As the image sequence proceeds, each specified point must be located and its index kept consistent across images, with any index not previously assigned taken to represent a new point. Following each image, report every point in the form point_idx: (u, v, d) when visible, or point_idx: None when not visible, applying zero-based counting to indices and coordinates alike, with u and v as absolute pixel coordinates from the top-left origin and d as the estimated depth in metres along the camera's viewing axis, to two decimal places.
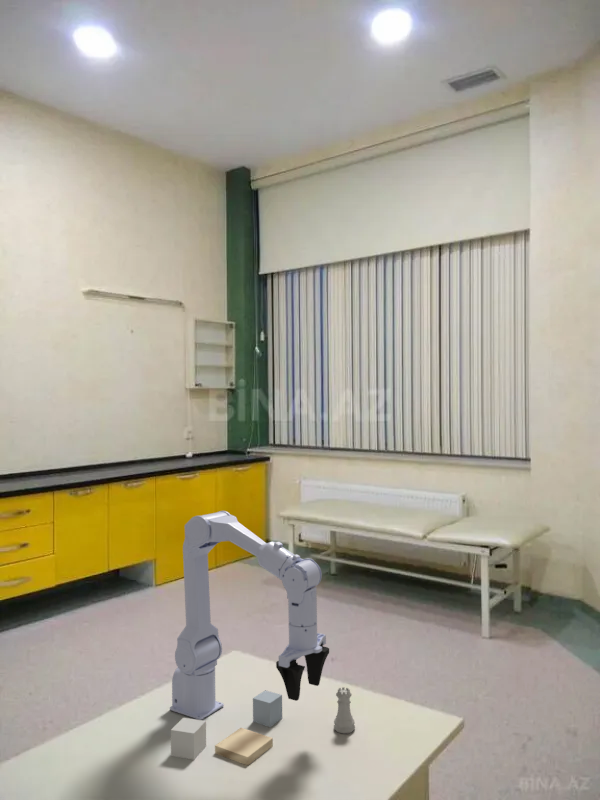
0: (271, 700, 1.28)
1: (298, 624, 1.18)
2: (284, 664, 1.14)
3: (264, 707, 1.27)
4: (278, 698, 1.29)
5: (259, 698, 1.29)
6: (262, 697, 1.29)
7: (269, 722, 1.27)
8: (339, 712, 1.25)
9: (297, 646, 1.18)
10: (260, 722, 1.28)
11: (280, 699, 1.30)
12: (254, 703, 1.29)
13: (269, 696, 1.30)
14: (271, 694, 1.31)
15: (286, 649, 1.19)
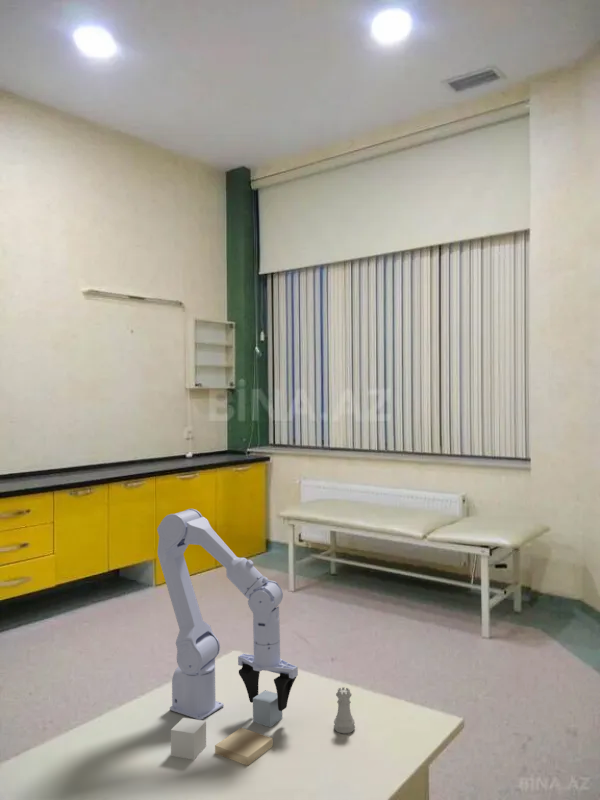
0: (271, 700, 1.28)
1: (265, 642, 1.28)
2: None
3: (264, 707, 1.27)
4: None
5: (259, 698, 1.29)
6: (262, 697, 1.29)
7: (269, 722, 1.27)
8: (339, 712, 1.25)
9: None
10: (260, 722, 1.28)
11: None
12: (254, 703, 1.29)
13: (269, 696, 1.30)
14: (271, 694, 1.31)
15: None
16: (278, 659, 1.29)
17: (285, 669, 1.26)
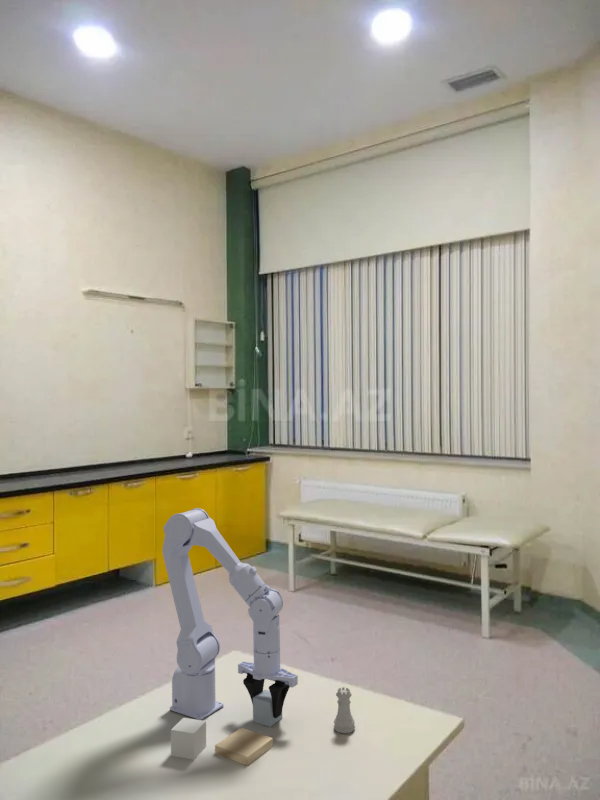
0: (271, 700, 1.28)
1: (265, 651, 1.28)
2: None
3: (264, 706, 1.27)
4: None
5: (259, 697, 1.29)
6: (262, 697, 1.29)
7: (269, 722, 1.27)
8: (339, 712, 1.25)
9: None
10: (260, 722, 1.28)
11: None
12: (254, 703, 1.29)
13: (269, 696, 1.30)
14: None
15: None
16: (278, 668, 1.29)
17: (285, 678, 1.26)
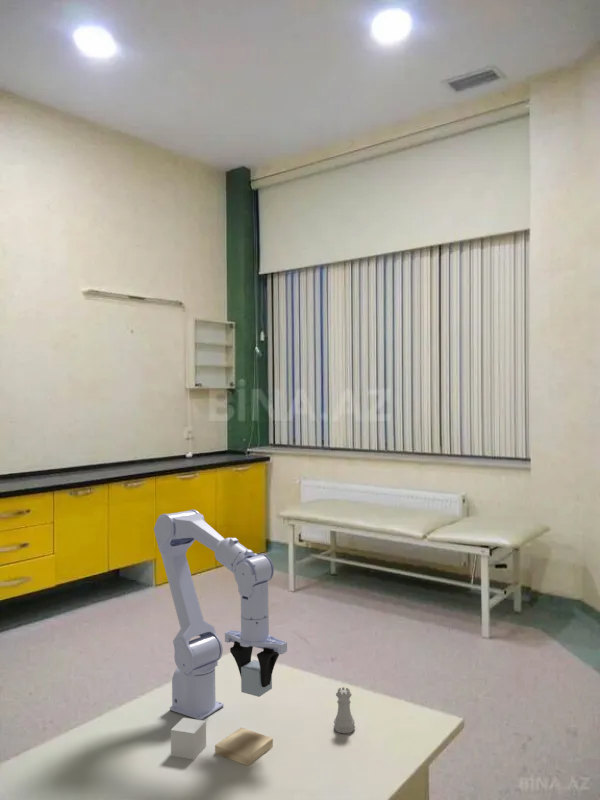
0: None
1: (247, 617, 1.22)
2: None
3: (253, 676, 1.22)
4: None
5: (248, 667, 1.24)
6: (251, 666, 1.24)
7: (258, 691, 1.21)
8: (339, 712, 1.25)
9: None
10: (249, 692, 1.22)
11: None
12: (242, 672, 1.23)
13: (258, 665, 1.24)
14: None
15: None
16: (267, 635, 1.23)
17: (274, 644, 1.20)
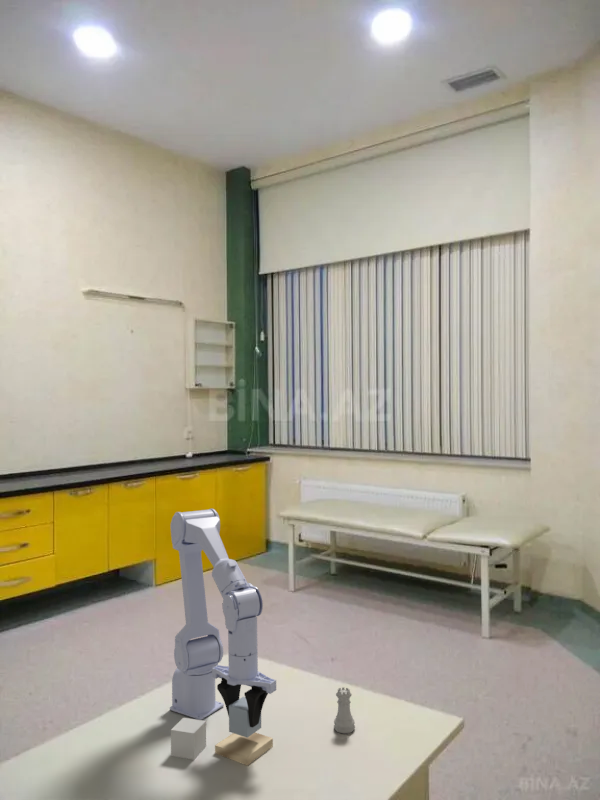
0: None
1: (232, 652, 1.17)
2: None
3: (241, 715, 1.16)
4: None
5: (236, 705, 1.18)
6: (239, 705, 1.18)
7: (246, 732, 1.16)
8: (339, 712, 1.25)
9: None
10: (236, 732, 1.17)
11: None
12: (230, 711, 1.18)
13: None
14: None
15: None
16: (255, 672, 1.17)
17: (262, 683, 1.15)
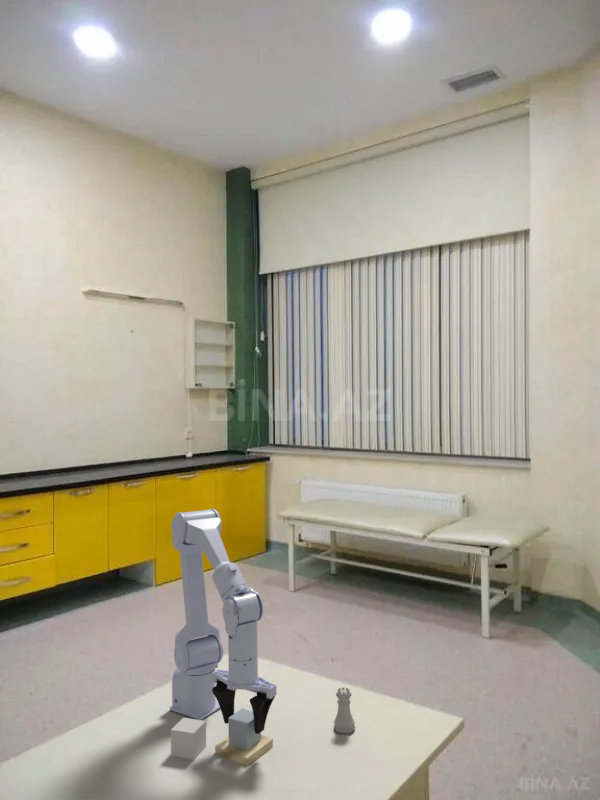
0: (248, 720, 1.17)
1: (232, 657, 1.17)
2: None
3: (241, 728, 1.16)
4: None
5: (235, 718, 1.18)
6: (239, 717, 1.18)
7: (246, 745, 1.15)
8: (339, 712, 1.25)
9: None
10: (236, 744, 1.17)
11: None
12: (230, 723, 1.17)
13: (247, 716, 1.18)
14: (248, 714, 1.19)
15: None
16: (255, 677, 1.17)
17: (262, 688, 1.15)
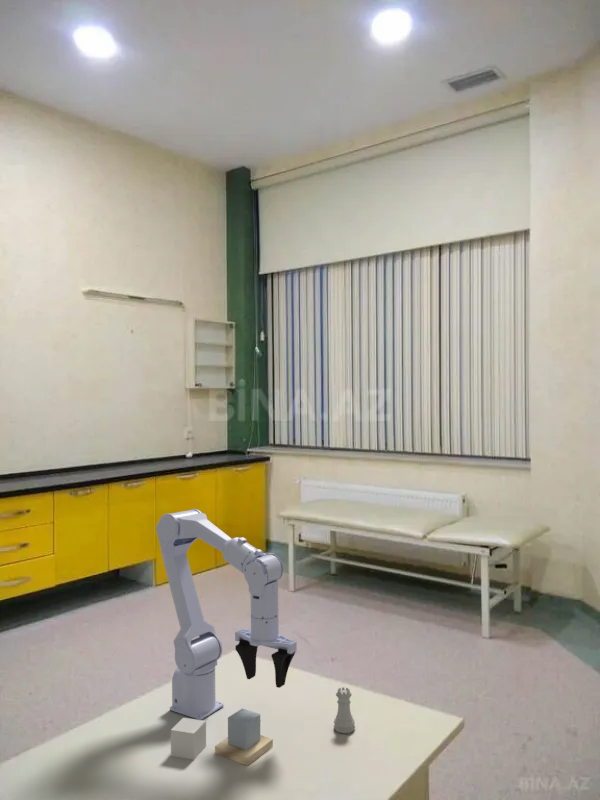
0: (248, 720, 1.17)
1: (259, 616, 1.22)
2: None
3: (240, 727, 1.16)
4: (256, 718, 1.18)
5: (235, 717, 1.18)
6: (238, 717, 1.18)
7: (245, 744, 1.15)
8: (339, 712, 1.25)
9: None
10: (235, 744, 1.17)
11: (258, 719, 1.19)
12: (229, 723, 1.18)
13: (246, 716, 1.18)
14: (248, 714, 1.19)
15: None
16: (276, 634, 1.24)
17: (283, 644, 1.21)
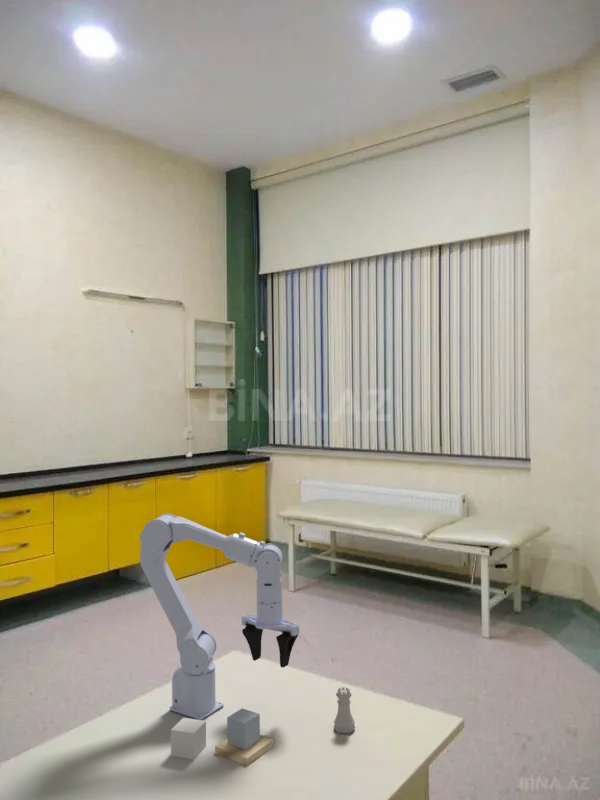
0: (247, 720, 1.17)
1: (271, 602, 1.32)
2: None
3: (239, 727, 1.16)
4: (255, 717, 1.18)
5: (234, 717, 1.18)
6: (237, 717, 1.18)
7: (244, 744, 1.15)
8: (339, 712, 1.25)
9: None
10: (235, 744, 1.17)
11: (258, 719, 1.19)
12: (228, 723, 1.18)
13: (245, 716, 1.18)
14: (247, 713, 1.19)
15: None
16: (280, 618, 1.34)
17: (287, 627, 1.31)
